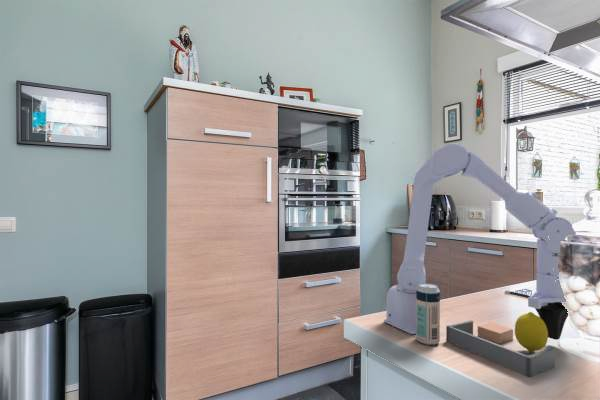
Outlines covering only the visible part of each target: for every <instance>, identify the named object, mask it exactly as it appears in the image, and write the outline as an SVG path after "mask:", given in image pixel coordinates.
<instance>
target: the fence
mask: <svg viewBox="0 0 600 400" xmlns="http://www.w3.org/2000/svg"><path fill="white" fill-rule="evenodd" d="M445 338H446V340H445V341H446V342H448V343H451V344H452V345H455V346H457V347H460V348H461V349H464V350H467V351H469V352H471V353H474V354H476V355H478V356H480V357H482V358H485V359H488V360H490V361H492V362H494V363H497V364H500V365H501V366H504V367H506V368H508V369H511V370H513V371H515V372H518V373H520V374H522V375H525V376H527V377H529V378H531V377H532V376H535V375H538V374H541V373H544V372H545V371H548V370H551V369H553V368H555V367H556V349H555V348H552V347H550V348H547V349H543V350H542V351H539V352H536V353H532V354H530V355H527V354H524V353H521V352H518V351H516V350H513V349H511V348H508V347H506V346H503V345H500V344H499V343H496V342H494V341H491V340H488V339H485V338H482V337H479V336H478V335H475V334H474V321H473V320H467V321H466V320H465V321H463V322H458V323H453V324H450V325H446V335H445Z"/></svg>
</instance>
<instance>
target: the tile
mask: <svg viewBox="0 0 600 400" xmlns="http://www.w3.org/2000/svg"><path fill="white" fill-rule="evenodd" d="M477 337H480V338H482V339H485V340H488V341H490V342H493V343H495V344H498V345H500V344H503V343H507V342H510V341H512V340H514V329H513V328H511V327H508V326H506V325H505V326H504V325H501V324H497V323H494V322H491V321H489V322H487V323H483V324H480V325H477Z"/></svg>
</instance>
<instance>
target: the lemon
mask: <svg viewBox="0 0 600 400" xmlns="http://www.w3.org/2000/svg"><path fill="white" fill-rule="evenodd" d="M514 335H515V339H516V341H517V342H518V343H519V345H520V346H522V347H523V348H524V349H525V350H527V351H528V352H529V353H532V354H534V352H535V351H539V350H542V349H544V348H545V347H546V345H547V343H548V340H549V338H548V331H547V327H546V325H545V323H544V321H543V320H542V319H541V318H540V316H539V315H536V314H535V313H534V312H531V311H529V312H528V313H524V314H521V315H519V316H518V317H517V319H516V321H515V325H514Z"/></svg>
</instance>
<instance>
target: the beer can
mask: <svg viewBox="0 0 600 400" xmlns="http://www.w3.org/2000/svg"><path fill="white" fill-rule="evenodd" d="M440 321H441V290H440V289H439V287H438V285H436V284H432V283H425V284H418V287H417V288H416V334H415V339H416V340H417V341H418V342H419V343H420V344H422V345H427V346H435V345H438V344H439V343H440V339H441V337H440V335H441V333H440V331H441V329H440V328H441V325H440V324H441V322H440Z"/></svg>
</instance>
